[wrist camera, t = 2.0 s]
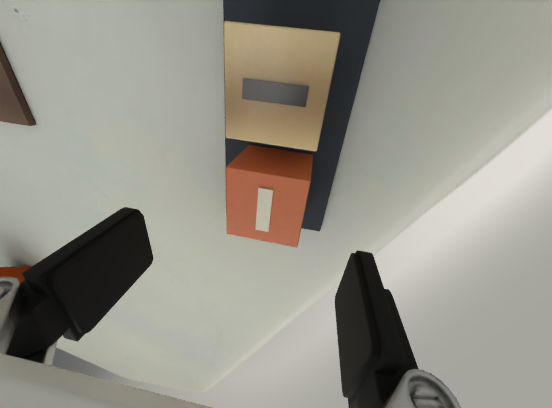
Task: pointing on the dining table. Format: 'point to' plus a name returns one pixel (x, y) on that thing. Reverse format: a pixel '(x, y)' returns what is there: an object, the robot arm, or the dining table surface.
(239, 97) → the tan block
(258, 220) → the orange striped cube
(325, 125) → the near mat
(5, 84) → the far board
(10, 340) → the robot arm
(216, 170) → the dining table surface
